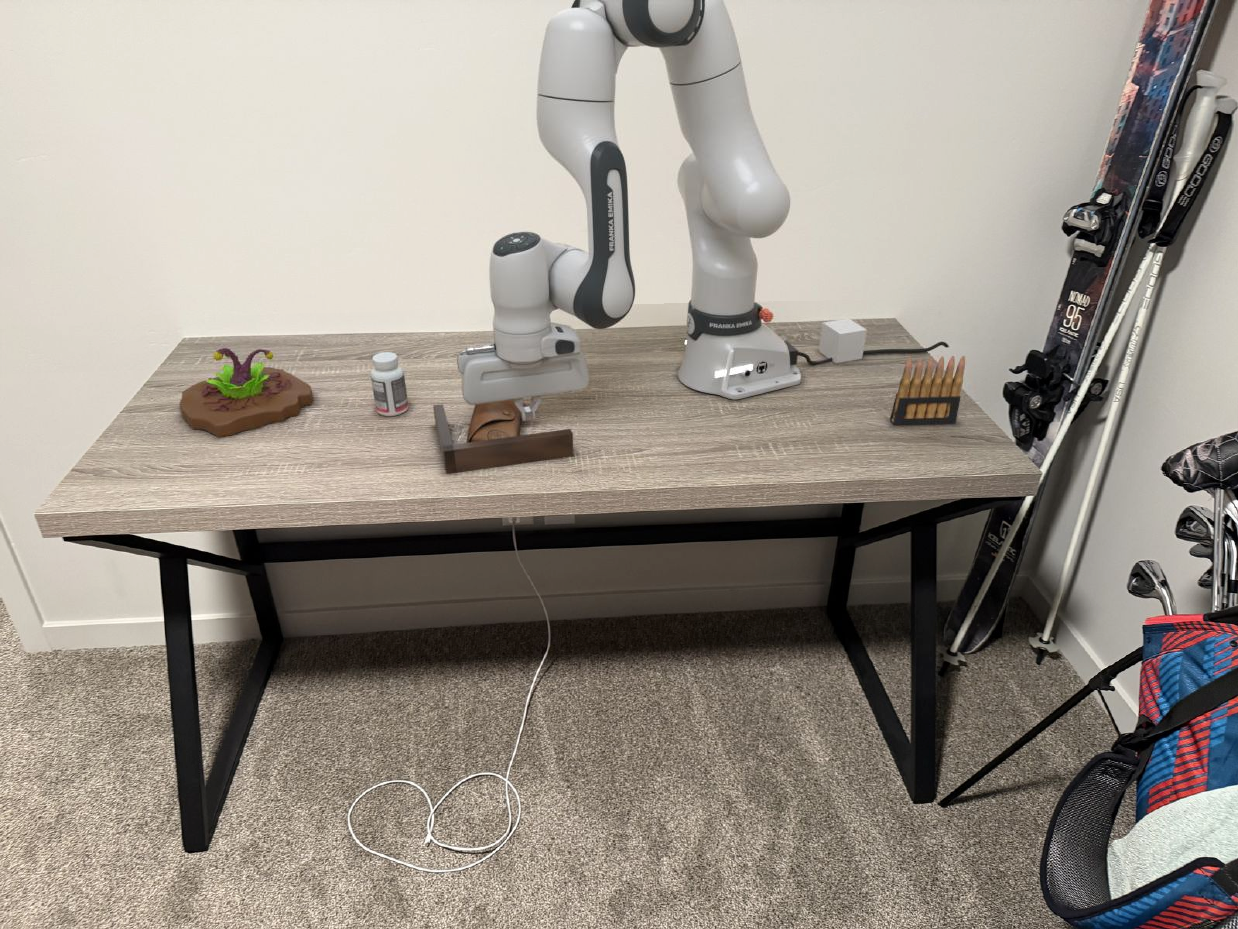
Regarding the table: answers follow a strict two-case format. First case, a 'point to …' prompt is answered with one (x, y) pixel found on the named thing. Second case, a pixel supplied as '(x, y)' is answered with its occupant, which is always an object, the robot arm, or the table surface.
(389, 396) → the pill bottle
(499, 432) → the sunglasses case
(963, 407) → the table surface
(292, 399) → the plant
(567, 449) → the bracket
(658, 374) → the table surface
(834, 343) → the white cube
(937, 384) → the ammunition clip
